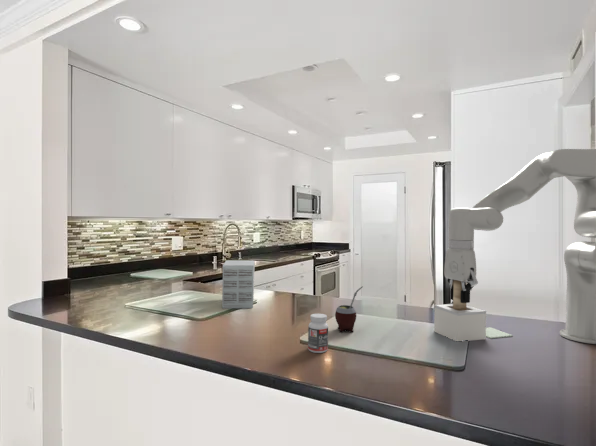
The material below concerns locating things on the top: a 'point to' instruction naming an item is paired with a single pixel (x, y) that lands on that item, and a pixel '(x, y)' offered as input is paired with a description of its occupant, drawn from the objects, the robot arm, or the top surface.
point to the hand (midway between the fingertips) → (459, 300)
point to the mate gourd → (346, 316)
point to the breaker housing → (460, 322)
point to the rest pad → (496, 333)
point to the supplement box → (238, 284)
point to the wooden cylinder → (458, 296)
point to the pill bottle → (318, 333)
